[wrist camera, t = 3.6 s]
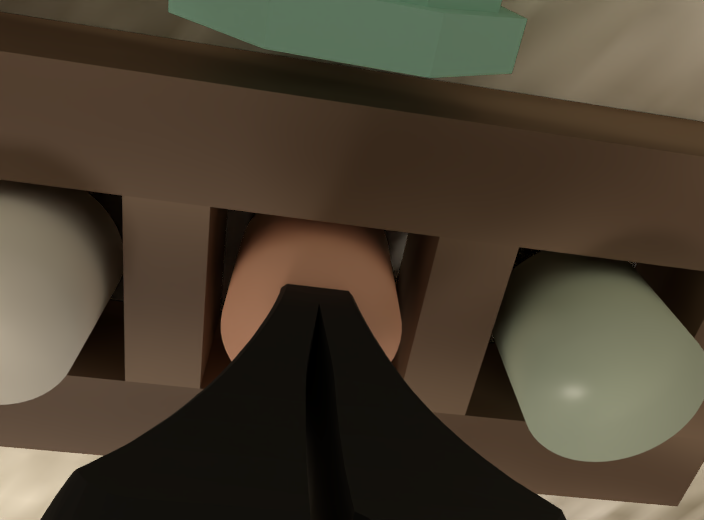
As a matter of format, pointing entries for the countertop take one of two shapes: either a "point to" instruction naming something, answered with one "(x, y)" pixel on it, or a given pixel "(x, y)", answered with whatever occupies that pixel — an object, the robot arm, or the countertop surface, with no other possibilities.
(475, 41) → the container
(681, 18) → the countertop surface
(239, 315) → the terracotta button
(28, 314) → the cream button
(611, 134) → the button panel
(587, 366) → the sage button
